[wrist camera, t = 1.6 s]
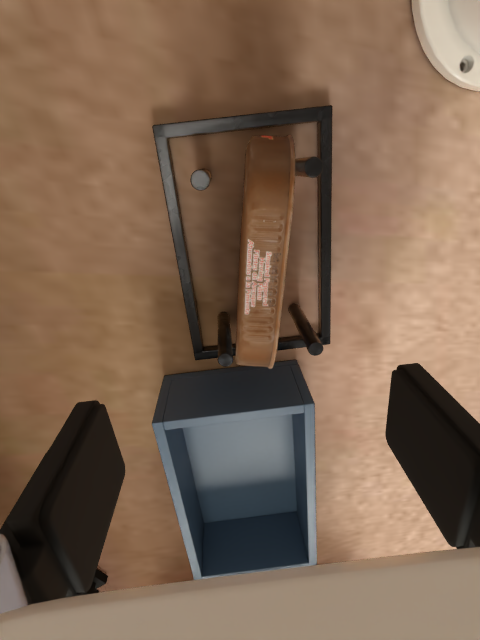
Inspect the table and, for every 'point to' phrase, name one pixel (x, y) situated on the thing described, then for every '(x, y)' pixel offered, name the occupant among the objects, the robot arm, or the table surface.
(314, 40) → the table surface
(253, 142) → the tin
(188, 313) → the rack
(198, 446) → the open box
